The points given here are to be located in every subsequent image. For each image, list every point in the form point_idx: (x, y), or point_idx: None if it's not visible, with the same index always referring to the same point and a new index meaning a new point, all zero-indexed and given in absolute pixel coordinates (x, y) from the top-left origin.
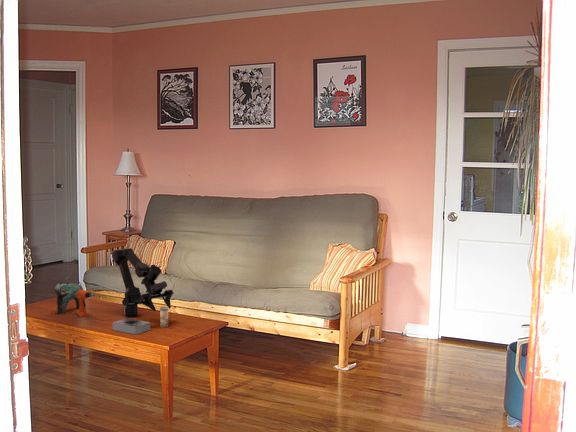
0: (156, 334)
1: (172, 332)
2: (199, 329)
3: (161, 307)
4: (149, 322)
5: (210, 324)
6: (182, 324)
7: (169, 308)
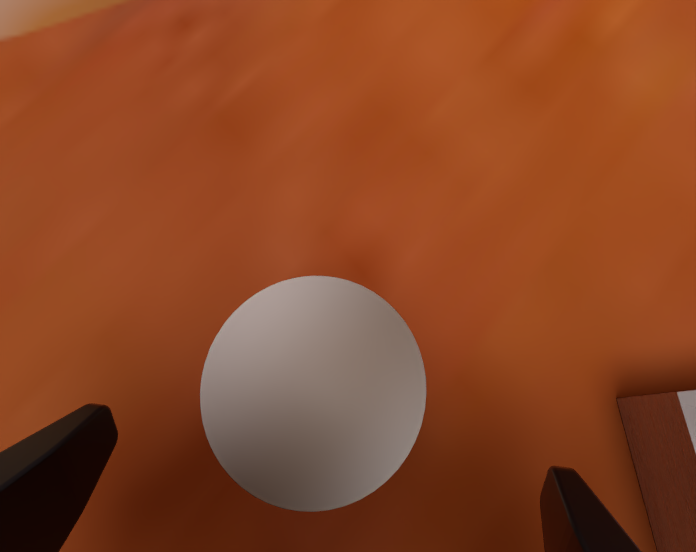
0: (665, 181)
1: (471, 124)
2: (210, 36)
3: (351, 457)
4: (692, 397)
5: (9, 96)
6: (155, 301)
7: (114, 440)
